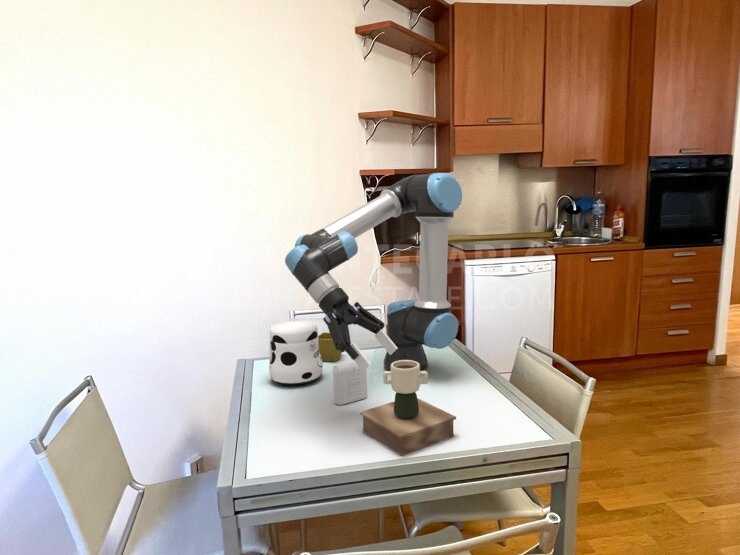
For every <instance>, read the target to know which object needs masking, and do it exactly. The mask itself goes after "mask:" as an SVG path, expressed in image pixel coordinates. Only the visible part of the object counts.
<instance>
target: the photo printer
mask: <svg viewBox="0 0 740 555" xmlns="http://www.w3.org/2000/svg"><path fill="white" fill-rule="evenodd" d="M332 376H333V377H332V378H333V400H334V403H335V405H338V406H342V405H347V404H349V403H353V402H357V401H361V400H364V399H366V398H368V380H367V379H368V376H367V368H366V369H365V370H364V371H362V370H361V369H360V367H359V366H358V365H357V364H356V362H355V361H354V360H353V359H352V358H347V359H344V360H341V361H339V362H338V363H336V364H334V365H333V368H332Z"/></svg>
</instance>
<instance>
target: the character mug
mask: <svg viewBox="0 0 740 555" xmlns="http://www.w3.org/2000/svg"><path fill="white" fill-rule="evenodd" d="M382 376H383V377H382V378H383V379H382V382H383V384H384V385H390V386H391V388H392V391H393V392H395V395H394V401H393V402H394V413H395V414H396V415H397V416H400V417H403V418H410V417H413V416H415V415H417V414H418V413H419V406H418V400H417V398H418V394H417V392H418V391H419V390H420V387H421V385H427V384H428V382H429V373H428V371H426V370H424V371H420V364H419V363H418V362H416V361H412V360H399V361H395V362H393V363H392V364H391V371H387V370H385V371H383V373H382ZM388 376H390V379H388ZM421 376H423V380H421Z"/></svg>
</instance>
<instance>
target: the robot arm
mask: <svg viewBox="0 0 740 555" xmlns="http://www.w3.org/2000/svg"><path fill="white" fill-rule="evenodd" d="M462 201H463V191H462V187H461V184H460V182H459V181H458V180H457V178H456V177H455V176H453V175H452V174H449V173H446V172H433V173H423V174H413V175H409V176H407V177H405V178H403V179H401V180H399V181H397V182H395V183H394V184H392V185H390V186H388V187H387V188H385V189H383V190H382V191H381V193H380V194H379V196H377V197H376V198H374V199H372V200H370V201H368V202H366V203H365V204H363V205H362V206H360V207H358V208H356V209H354V210H352V211H351V212H349V213H347V214H345V215H343V216H342V217H340V218H339V219H336V220H335V221H333V222H331V223H328V225H326V226H324V227H322V228H321V229H319V230H317V231H314V232H313V233H311V234H303V235H301V236H299V237H298V238H297V239H296V240H295V244H294V247H293V248H292V249H291V250H290V251H289V252H288V253H287V254H286V256H285V259H284V263H285V266H286V267H287V269H288V270H289V271H290V273H291V274H292V276H294V277H295V279H296V280H297V281H298V282H299V283H300V285H301V286H302V287H303V289H304V290H305V291H306V292H307V293H308V294H309V296H310V297H311V298H312V300H314V302H315V303H316V304H318V307H319V309H320V310H321V311H322V312H323V313H324V314H325V316H324V317H323V319H322V320H323V321H324V324H326V326H327V329H328V331H329V332H328V333H330V334H331V337H332V340H333V343H334V345H335V348H336V350H340V351H341V352H342V353H344V352H345V353H346V354H347V355H348V356H349V357H350V359H353V360H354V361H355V362H356V364H357V365H358V366H359V367H360V369H361V370H362V371H364V370H365V369H366V370H367V368H369V367H370V366H371V365H372V364H371V362H370V361H369V359H368V358H367V357H366V356H365V354H364V353H363V352H362V351H361V349H360V348H358V346H357V345H356V343H354V342H352V341H351V334H350V328H349V326H351V325H356V326H357V325H358V326H360V327H362V328H363V329H366V331H367V330H368V331H369V332H370V333H373V334H375V335H374V338H376V340H377V341H378V342H379V344H380V345H381V346H382V347H383V348H384V349H385V351H386V352H385V356H384V359H383V369H384V370H385V371H391V364H392V363H393V362H395V361H399V360H412V361H416V362H418V363H419V364H420V371H426V370H427V369H428V367H429V366H428V365H429V362H428V358H427V355H426V351H425V349H424V347H423V346H426V347H428V348H431V349H437V350H438V349H439V350H440V349H445V348H446V347H447V348H448V346H450V345H451V344H452V342H453V341H454V340H455V339H456V338H457V334H458V331H459V321H458V318H457V317H456V316H455V315H454V314H453V313H452V304H451V303H450V302H449V301H448V300H447V295H448V294H447V288H448V251H449V250H448V249H449V248H448V247H449V223H451V221H452V220H453V219H454V213H455V211H456V210H459V208H460V205H461V203H462ZM412 212H413V213H414V212H415V219H417V221H418V222H419V224H420V234H419V235H420V236H419V237H420V238H419V239H420V240H419V279H418V280H419V281H418V282H419V283H418V299H408V300H407V299H406V300H398V301H394V302H391V303H389V304H388V305H387V307H386V308H387V309H386V319H387V320H386V323H387V333H386V332H385V331H384V328H385V322H383V320H380V319H379V318H378V317H376V316H375V315H374V314H373V313H372V312H370V311H368V310H367V309H365V308H364V307H363V306H362V305H361V304H360V303H359V302H358V301H355V303H354V304H353V305H352V304H350V302H349V300H350V298H349V295H348V294H347V293H346V292H345V291H344V289H343V288H342V287H340V284H339V283H338V282H337V280H336V279H335V278H334V277H333V276H332V275H331V274H330V271H332V270H333V269H335V268H336V267H339V266H340V265H342V264H344V263H345V262H347V261H350V259H352V258H353V257H354V256H356V255H357V254H358V252H359V250H358V249H359V246H358V244H357V240H356V238H358V237H359V236H361V235H363V234H365V233H366V232H368V231H370V230H371V229H373V228H375V227H376V226H378V225H380V224H383V222H385V221H386V220H389V219H390V218H392V217H393V218H398V217H400V216H402V215H403V214H404V215H405V214H407V213H412ZM339 342H340V343H339ZM351 342H352V343H351Z"/></svg>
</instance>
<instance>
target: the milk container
mask: <svg viewBox="0 0 740 555" xmlns="http://www.w3.org/2000/svg"><path fill="white" fill-rule="evenodd" d="M318 336H319V328H318V325H317V323H316V322H313V321H308V320H290V321H283V322H278V323H276V324H272V326H270V327H269V338H270V339H269V344H270V345H269V347H270V358H269V365H268V370H269V375H270V378H271V379H272V381H274V382H276V383H277V384H281V385H286V386H299V385H303V384H309V383H311V382H315V380H317V379H319V377H321V375H322V373H323V361H322V358H321V355H320V352H319V339H318Z"/></svg>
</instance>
